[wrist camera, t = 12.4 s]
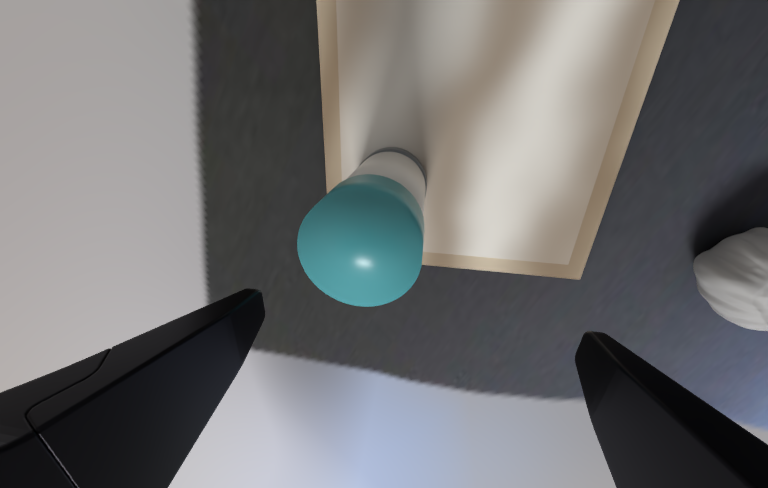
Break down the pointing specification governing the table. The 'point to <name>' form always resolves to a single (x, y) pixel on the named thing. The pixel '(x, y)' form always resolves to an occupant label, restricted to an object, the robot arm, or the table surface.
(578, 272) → the picture frame
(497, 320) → the table surface
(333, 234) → the cylinder
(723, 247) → the garlic
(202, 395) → the robot arm
